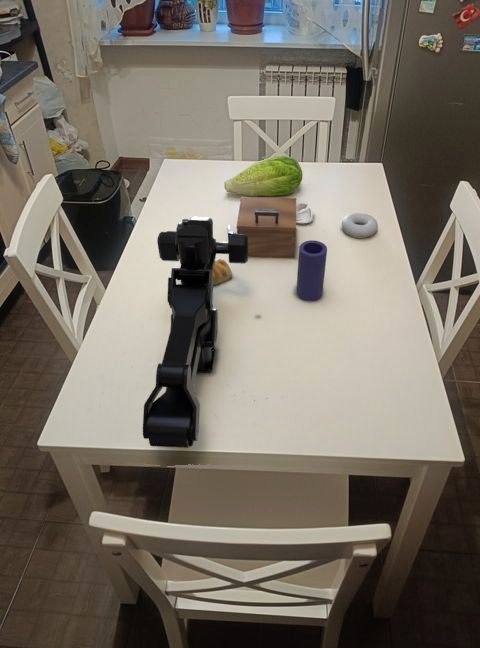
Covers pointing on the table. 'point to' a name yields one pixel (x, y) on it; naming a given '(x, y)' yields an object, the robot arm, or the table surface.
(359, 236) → the donut
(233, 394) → the table surface
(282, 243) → the bread box
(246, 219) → the bread box lid
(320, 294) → the purple hollow cylinder
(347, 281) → the table surface
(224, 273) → the pastry
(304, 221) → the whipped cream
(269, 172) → the lettuce
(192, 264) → the robot arm
